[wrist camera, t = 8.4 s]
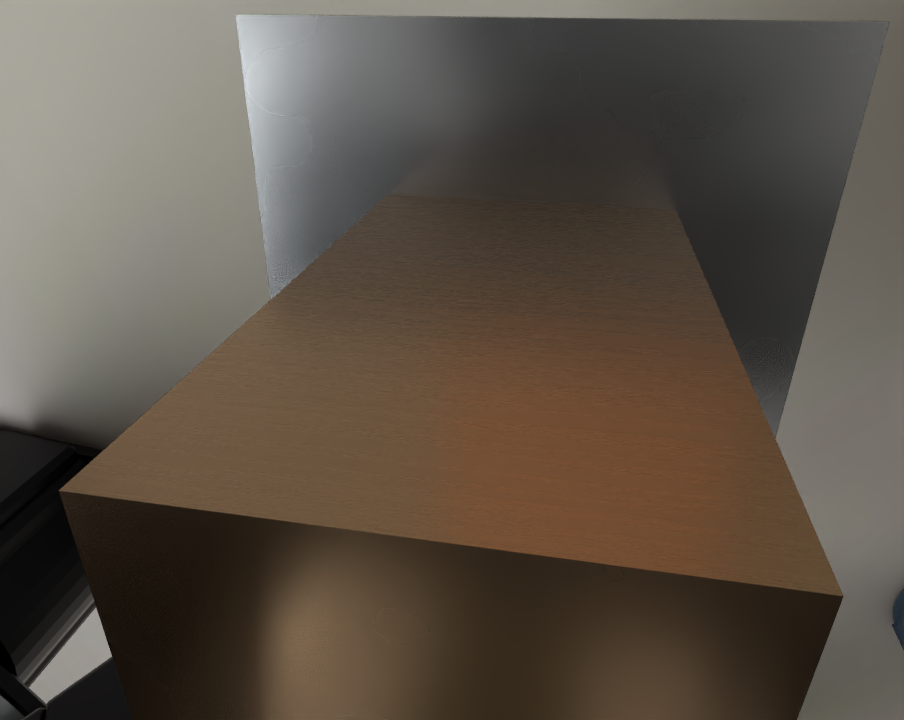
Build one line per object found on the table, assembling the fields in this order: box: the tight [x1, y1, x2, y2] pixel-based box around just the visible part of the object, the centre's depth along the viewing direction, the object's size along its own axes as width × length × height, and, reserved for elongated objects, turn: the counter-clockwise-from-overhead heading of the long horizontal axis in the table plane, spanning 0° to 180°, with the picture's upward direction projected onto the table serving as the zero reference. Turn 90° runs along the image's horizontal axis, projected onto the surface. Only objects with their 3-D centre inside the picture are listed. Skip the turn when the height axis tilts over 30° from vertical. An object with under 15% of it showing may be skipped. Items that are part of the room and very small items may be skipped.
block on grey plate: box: [59, 14, 889, 720], centre depth 8 cm, size 12×7×7 cm, turn 0°
